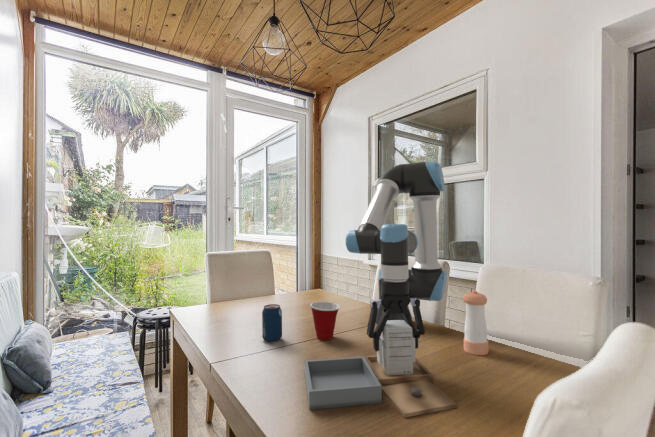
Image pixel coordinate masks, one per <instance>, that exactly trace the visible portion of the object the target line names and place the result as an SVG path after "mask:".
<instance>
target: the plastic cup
mask: <svg viewBox="0 0 655 437" xmlns="http://www.w3.org/2000/svg"><path fill="white" fill-rule="evenodd" d="M310 308H311V314H312V316H313V324H314V325H313V326H314V329H315V330H314V331H315V336H316V339H317V340H318V341H319V340H320V341H330V340H331V339H333V337H334V332H335V326H336V320H337V315H338V312H339V309H341V306H340V304H338V303H336V302H335V303H334V302H330V301H314V302H312V303H310Z"/></svg>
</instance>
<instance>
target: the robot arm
mask: <svg viewBox="0 0 655 437" xmlns="http://www.w3.org/2000/svg"><path fill="white" fill-rule="evenodd" d="M374 190H375V192H374V193H373V196H372V198H371V201H370V202H369V205H368V207H367V209H366V211H365V213H364V215H363V218H362V220H361V222H360V223H359V226H358V228H357V229H354V230H349V231H347V233H346V236H345V247H346V250H347V251H348V252H349V253H350V254H351V253H353V254H360V255H361V254H363V255H365V254H366V255H369V254H371V255H374V254H375V255H380V269H379V270H378V279H377V280H378V299H377V300H375V299H371V300H370V314H369V318H368V324H367V328H366V335H367V336H368V338H370V339H372V340H373V341H372V342H373V343H372V346H373V349H374V351H375V352H376V355H377V361H378V362H379V364H383V359H382V339H381V338H380V336H381V334H382V331H383V329H384V326H385V325H386V322H387V320H404V321H405V322H406V323H407V324H408V325H410V326H411V327H412V336H413V362H415V357H416V349H417V350H418V349H419V338H420V337H421V335H422V336H424V335H425V333H426V331H425V326H424V322H423V317H422V313H421V308H420V307H421V301H429V302H431V301H432V302H440V301H441V300H442V299H443V298H444V296H445V293H446V292H445V291H446V287H447V276H448V275H447V271H445V270H443V265H442V264H440V262H439V260H438V259H439V258H438V257H439V256H438V254H439V253H438V252H439V251H438V221H437V220H438V216H437V200H438V199H439V198H440V197H441V192H444V191H445V178H444V173H443V169H442V167H441V164H440V163H439V162H438V161H422V162H421V161H420V162H410V163H402V164H401V163H400V164H397V165H395V166H392V167H390V168H389V169H388V170H386V171H385V172H384V173H382V175H381V176H380V177H379V178H378V180H377V181H376V184H375V186H374ZM399 194H409V197H408V198H409V199H410V200H412V201H413V227H414V228H413V230H414V231H412V230H409V228H408V226H407V224H403V223H402V224H401V223H399V224H397V223H396V224H395V223H394V224H392V223H391V224H385V222H386V220H387V218H388V214H389V212H390V210H391V207H392V205H393V202H394V201H395V200H394V199H396V198H397V197H398V195H399ZM412 253H414V262H413V263H412V265H411V266H410V267H411V269H410V268H409V255H411V254H412ZM409 304H410V306H411V308H412V312H413V317H412V313H411V309H410V307H409ZM413 318H414V321H415V324H414V322H413Z"/></svg>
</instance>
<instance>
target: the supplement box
mask: <svg viewBox="0 0 655 437" xmlns="http://www.w3.org/2000/svg"><path fill="white" fill-rule="evenodd" d="M380 338H381V339H382V359H383V364H381V365H382V366H383V368H384V370H385V371H386V373H387V375H408V374H413V336H412V327H411V326H410V325H408V324H407V323H406V322H405V321H404V320H387V322H386V325H385V326H384V329H383V331H382V334H381V336H380Z"/></svg>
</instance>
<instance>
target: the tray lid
mask: <svg viewBox="0 0 655 437" xmlns="http://www.w3.org/2000/svg"><path fill="white" fill-rule="evenodd" d="M382 394H383V395H384V396H385V397H386V398H387V399H388V400H389V402H390V403H391V404H392V405H393V407H395V409H396V410H397V411H398V412H399V413H400V414H401V416H403V418H404V419H405V418H409V417H410V418H411V417H414V416H420V415H425V414H429V413H430V414H431V413H435V412H442V411H446V410H451V409H455V408H457V407H458V403H456V402H455V401H454V400H453V399H451V398H450V396H448V395H446V394H445V393H444V392H443V391H442V390H440V389H439V388H438V387H437V386H435V384H434V383H433V382H429V381H428V380H419V381H413V382H407V383H401V384H394V385H388V386H382Z"/></svg>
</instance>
